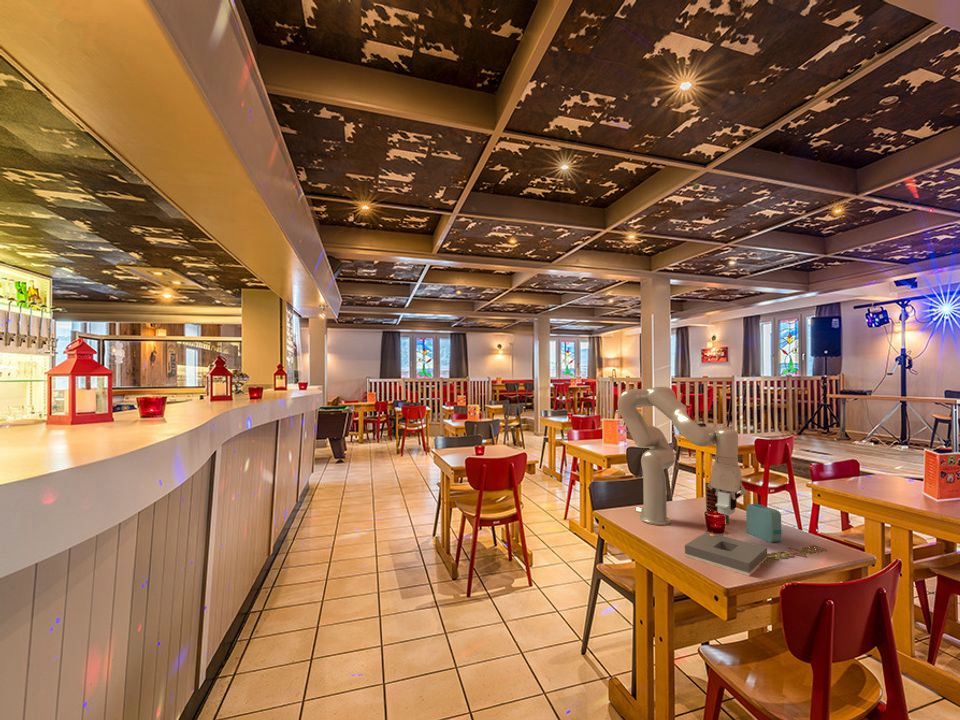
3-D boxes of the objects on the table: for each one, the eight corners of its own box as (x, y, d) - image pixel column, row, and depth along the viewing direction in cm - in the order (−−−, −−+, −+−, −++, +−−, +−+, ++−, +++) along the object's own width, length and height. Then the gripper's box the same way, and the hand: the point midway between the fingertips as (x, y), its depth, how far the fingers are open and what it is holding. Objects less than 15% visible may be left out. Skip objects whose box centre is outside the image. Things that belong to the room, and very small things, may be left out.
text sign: (732, 559, 150) (753, 568, 142) (732, 557, 150) (753, 566, 142) (809, 545, 163) (832, 553, 155) (809, 543, 163) (832, 551, 156)
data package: (782, 542, 165) (781, 511, 165) (772, 543, 164) (772, 512, 164) (755, 531, 176) (754, 502, 177) (746, 532, 175) (745, 503, 176)
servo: (715, 514, 164) (715, 491, 165) (725, 508, 172) (726, 486, 173) (726, 516, 161) (726, 493, 162) (736, 510, 169) (737, 488, 170)
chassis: (685, 556, 151) (684, 544, 151) (706, 542, 164) (706, 531, 165) (749, 576, 136) (748, 562, 136) (767, 558, 149) (767, 546, 150)
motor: (700, 517, 194) (699, 473, 195) (717, 516, 196) (716, 472, 197) (717, 524, 184) (716, 478, 185) (734, 523, 186) (733, 477, 187)
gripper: (700, 458, 171) (700, 504, 171) (747, 466, 159) (747, 515, 158) (707, 456, 176) (707, 500, 176) (754, 463, 164) (753, 511, 163)
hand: (726, 507), depth 167 cm, fingers closed on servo, 4 cm apart
